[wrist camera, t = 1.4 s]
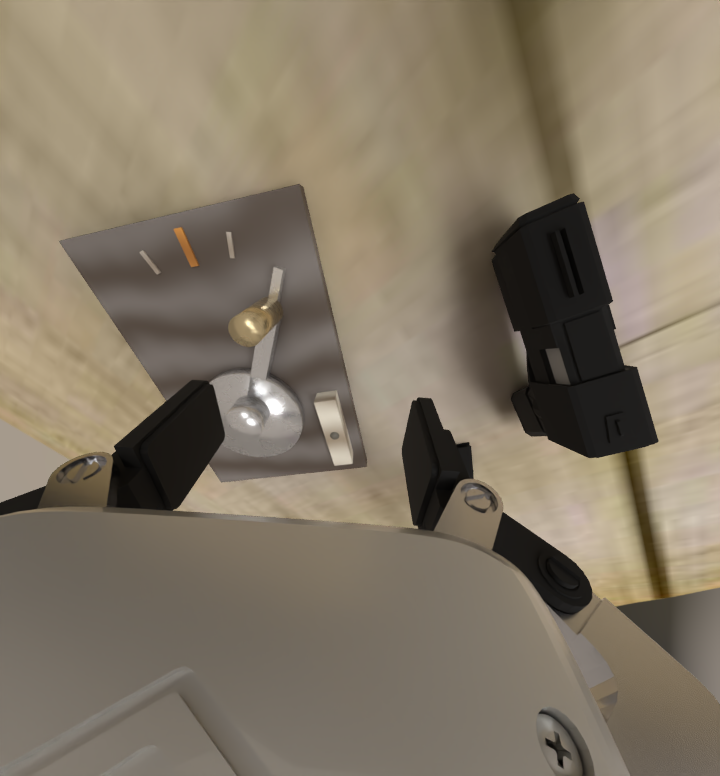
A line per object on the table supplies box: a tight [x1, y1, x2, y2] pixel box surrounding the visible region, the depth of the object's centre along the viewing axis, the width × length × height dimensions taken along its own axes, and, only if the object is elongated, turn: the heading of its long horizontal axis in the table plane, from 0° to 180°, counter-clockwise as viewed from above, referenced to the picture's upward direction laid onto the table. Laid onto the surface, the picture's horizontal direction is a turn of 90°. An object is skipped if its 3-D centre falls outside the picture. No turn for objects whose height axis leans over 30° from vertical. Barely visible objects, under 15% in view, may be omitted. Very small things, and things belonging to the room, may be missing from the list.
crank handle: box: [209, 266, 305, 457], centre depth 26 cm, size 23×12×7 cm, turn 160°
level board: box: [59, 184, 367, 482], centre depth 30 cm, size 32×22×4 cm
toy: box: [492, 193, 658, 458], centre depth 24 cm, size 5×20×15 cm, turn 23°
